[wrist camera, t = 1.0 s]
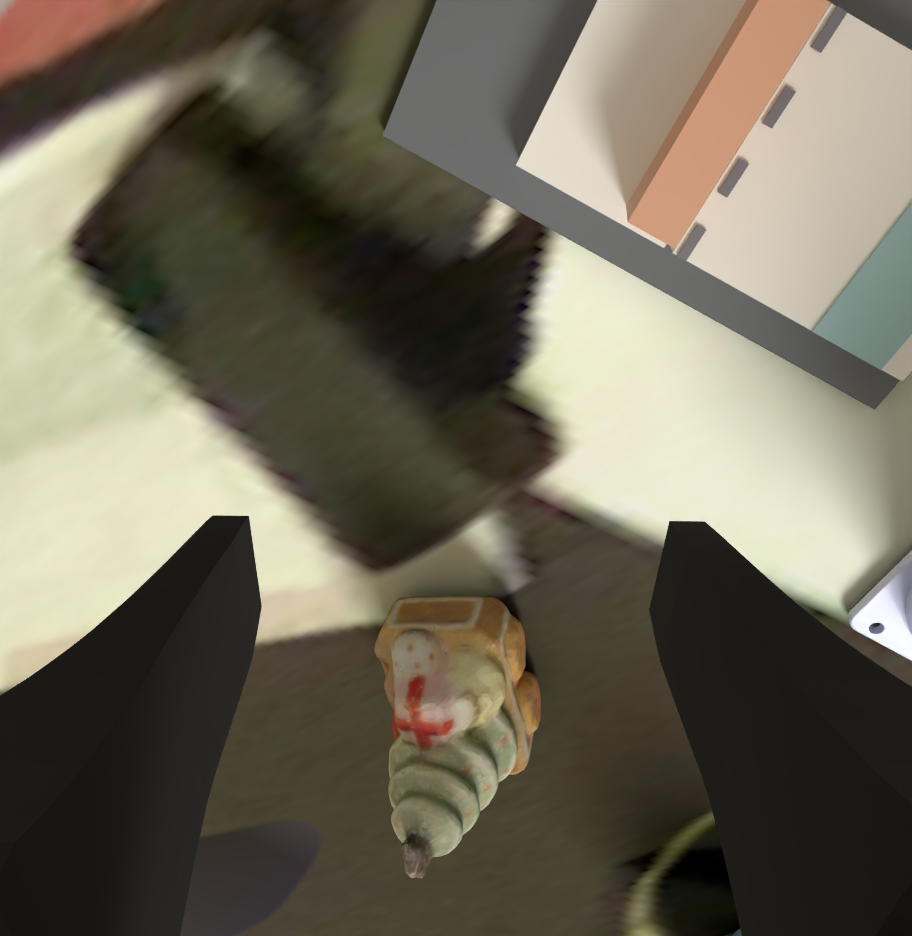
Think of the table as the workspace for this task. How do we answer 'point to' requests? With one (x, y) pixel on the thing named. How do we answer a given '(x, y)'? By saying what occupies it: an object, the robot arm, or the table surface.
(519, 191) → the mat
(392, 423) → the table surface
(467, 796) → the ornament
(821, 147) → the ticket
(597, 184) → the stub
